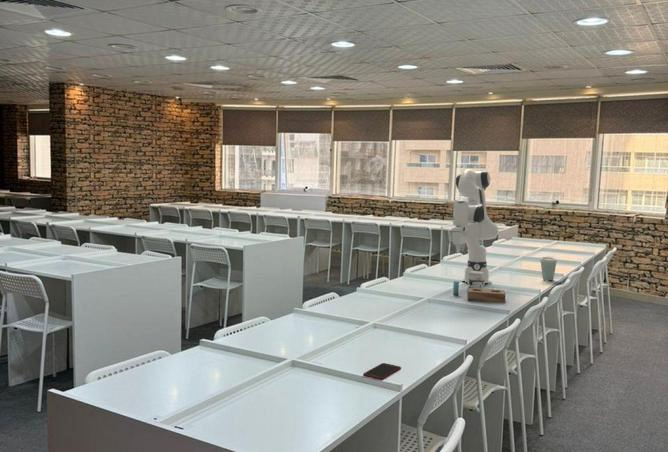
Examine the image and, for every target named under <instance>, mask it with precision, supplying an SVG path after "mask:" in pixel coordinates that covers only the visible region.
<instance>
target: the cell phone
mask: <svg viewBox="0 0 668 452" xmlns="http://www.w3.org/2000/svg"><path fill="white" fill-rule="evenodd" d="M401 370H402V367H401V366H399V365H394V364H391V363H385V362H384V363H383V362H382V363H380V364H378V365H376V366H375V367H372V368H371V369H369V370H367V371H365V372H363V377H365V376H366V377H365V378H369V377H370V378H371V379H374V378H375V379H374V380H378V379H381V380H380V381H384V380H385V379H387V378H388V377H390V376H392V375H394V374H395V373H397V372H398V371H401Z"/></svg>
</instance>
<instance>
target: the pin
mask: <svg viewBox="0 0 668 452" xmlns="http://www.w3.org/2000/svg"><path fill="white" fill-rule="evenodd" d="M459 287H460V281H459V280H458V281H457V280H454V281H453V288H452V289H453V291H452V295H453V296H455V297H457V296H459V293H460V292H459V291H460V289H459Z"/></svg>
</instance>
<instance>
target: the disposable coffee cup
mask: <svg viewBox="0 0 668 452" xmlns="http://www.w3.org/2000/svg"><path fill="white" fill-rule="evenodd" d="M557 262H558V261H557V259H556V258H554V257H549V256H542V257H541V258H540V267H541V268H540V269H541V276H542V280H543V279H544V280H543V281H545V280H553V281H554V278H555V277H554V276H555V274H556V273H555V271H556V266H557Z"/></svg>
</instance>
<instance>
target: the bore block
mask: <svg viewBox="0 0 668 452" xmlns="http://www.w3.org/2000/svg"><path fill="white" fill-rule="evenodd" d="M467 302H484V303H497V304H500V303H501V304H505V303H506V290H505V289H499V288H496V289H494V288H484V289H482V288H468V287H467Z"/></svg>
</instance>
